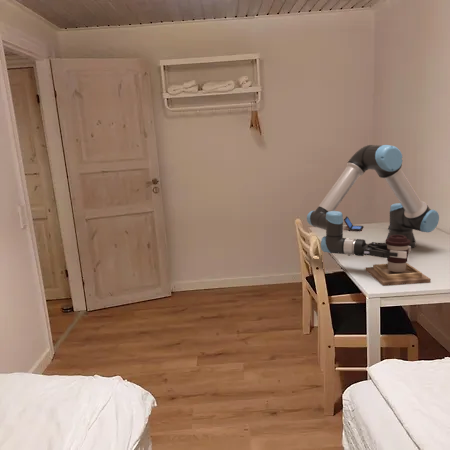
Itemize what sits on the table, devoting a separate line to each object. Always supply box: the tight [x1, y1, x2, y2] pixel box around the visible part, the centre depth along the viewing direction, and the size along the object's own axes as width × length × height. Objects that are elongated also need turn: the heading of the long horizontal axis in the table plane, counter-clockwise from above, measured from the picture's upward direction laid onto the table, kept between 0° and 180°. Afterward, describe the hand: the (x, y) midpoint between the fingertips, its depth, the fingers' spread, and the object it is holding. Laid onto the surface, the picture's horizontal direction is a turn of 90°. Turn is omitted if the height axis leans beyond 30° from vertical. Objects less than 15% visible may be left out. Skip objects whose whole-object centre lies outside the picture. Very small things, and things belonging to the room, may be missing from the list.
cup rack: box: [365, 262, 432, 287], centre depth 191 cm, size 20×20×4 cm
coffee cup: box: [385, 235, 410, 272], centre depth 189 cm, size 10×10×15 cm
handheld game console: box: [343, 215, 364, 232], centre depth 278 cm, size 12×11×7 cm
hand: (408, 252), depth 186 cm, fingers closed on coffee cup, 9 cm apart
